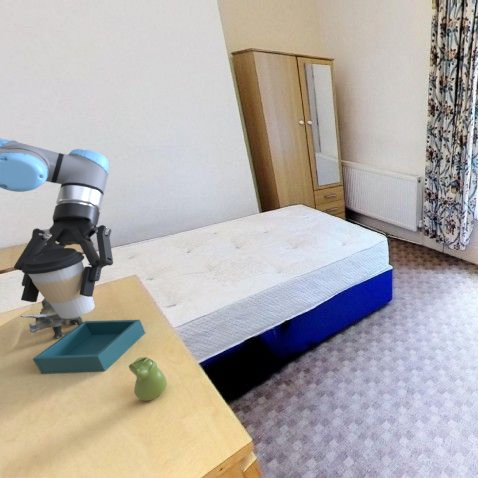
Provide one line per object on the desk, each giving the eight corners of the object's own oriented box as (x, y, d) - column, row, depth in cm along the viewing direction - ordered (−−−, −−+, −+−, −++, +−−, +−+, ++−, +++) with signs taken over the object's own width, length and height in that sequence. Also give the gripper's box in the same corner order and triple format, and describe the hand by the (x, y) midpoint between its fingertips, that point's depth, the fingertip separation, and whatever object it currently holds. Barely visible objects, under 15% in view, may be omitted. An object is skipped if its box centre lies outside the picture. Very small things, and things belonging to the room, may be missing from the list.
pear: (174, 391, 71) (161, 357, 67) (146, 410, 67) (130, 374, 63) (161, 381, 74) (148, 348, 70) (133, 398, 69) (117, 363, 65)
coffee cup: (64, 303, 79) (36, 249, 73) (112, 297, 82) (90, 244, 76) (38, 327, 71) (4, 268, 64) (92, 319, 74) (65, 262, 68)
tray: (41, 373, 74) (32, 358, 72) (91, 334, 87) (84, 320, 85) (104, 371, 76) (97, 356, 74) (145, 333, 88) (140, 319, 86)
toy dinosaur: (51, 313, 94) (34, 281, 90) (91, 303, 99) (77, 271, 95) (39, 356, 79) (18, 319, 75) (87, 341, 84) (70, 305, 80)
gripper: (141, 212, 85) (128, 295, 77) (35, 217, 79) (10, 307, 72) (122, 199, 78) (106, 288, 70) (5, 203, 72) (-26, 301, 65)
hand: (57, 298), depth 71 cm, fingers closed on coffee cup, 9 cm apart
